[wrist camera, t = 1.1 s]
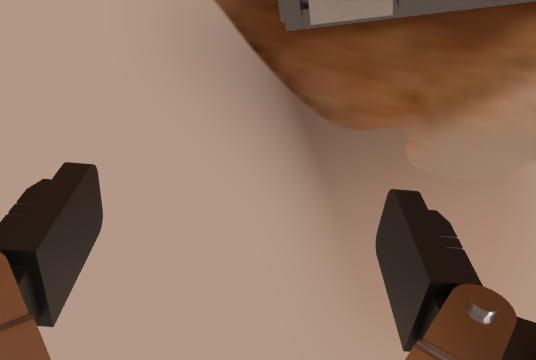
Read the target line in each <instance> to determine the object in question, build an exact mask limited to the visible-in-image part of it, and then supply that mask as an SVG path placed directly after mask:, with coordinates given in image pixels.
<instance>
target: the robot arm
mask: <svg viewBox="0 0 536 360" xmlns="http://www.w3.org/2000/svg"><path fill="white" fill-rule="evenodd" d="M102 219H103V211H102V202H101V195H100V187H99V178H98V172H97V168H96V166H95V165H93V164H82V163H81V164H80V163H69V162H66V163H64V164H63V165H62V166H61V168H60V169H59V170H58V172H57V173H56V174H55V176H54V177H53V179H52V180H50V179H42V180H41V181H39V182H37V183H36V184H34V185H33V186H31V187H29V188H28V189H26V191H25V192H24V193H23V194H22V196H21V197H20V198H19V199H18V201H17V204H15V205H14V206H13V207H12V208H11V209H10V211H9V214H8V215H6V216H5V217H4V218H3V220H2V221H1V222H0V360H51V359H50V357H49V354H48V352H47V349H46V347H45V344H44V342H43V339H42V337H41V334H40V332H39V329H38V327H37V326H47V327H54V325H55V323H56V321H57V318H58V317H59V314H60V313H61V310H62V308H63V306H64V304H65V302H66V300H67V298H68V296H69V294H70V292H71V290H72V288H73V286H74V284H75V282H76V280H77V278H78V276H79V273H80V272H81V270H82V268H83V266H84V264H85V262H86V260H87V258H88V255H89V253H90V251H91V249H92V247H93V245H94V243H95V241H96V239H97V237H98V235H99V233H100V230H101V226H102ZM376 254H377V258H378V261H379V265H380V269H381V272H382V276H383V279H384V283H385V287H386V290H387V294H388V298H389V301H390V305H391V308H392V312H393V316H394V319H395V322H396V326H397V330H398V333H399V337H400V341H401V344H402V348H403V351H410V353H409V354H408V356H407V358H406V359H405V360H536V323H534V322H531V321H528V320H525V319H522V318H519V317H517V316H516V313H515V311H514V309H513V307H512V306H511V305H510V303H509V302H508V301H507V300H506V299H505V298H503V297H502V296H501V295H499V294H498V293H496V292H495V291H493V290H491V289H488V288H486V287H483V285H482V283H481V282H480V280H479V278H478V276H477V274H476V272H475V270H474V268H473V266H472V264H471V262H470V260H469V258H468V256H467V255H466V253H465V251H464V250H462V245H461V243H460V241H459V239H457V235H456V233H455V232H454V230H453V228H452V226H451V224H450V222H448V221H447V220H446V219H445V218H444V217H443V216H442V215H441V214H440V213H439V212H437V211H436V210H428V208H427V207H426V204H425V202H424V200H423V198H422V196H421V194H420V192H418V191H409V190H396V189H391V190H390V191H389V192H388V195H387V199H386V202H385V205H384V209H383V213H382V216H381V220H380V224H379V227H378V231H377V236H376Z"/></svg>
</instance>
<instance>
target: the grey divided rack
mask: <svg viewBox="0 0 536 360" xmlns="http://www.w3.org/2000/svg"><path fill="white" fill-rule="evenodd" d="M535 1H536V0H278V5H279V13H280V20H281V23H285V26H286V31H293V30H301V29H310V28H318V27H326V26H335V25H343V24H351V23H360V22H368V21H376V20H385V19H393V18H401V17H410V16H418V15H426V14H435V13H443V12H451V11H460V10H468V9H476V8H485V7H493V6H501V5H510V4H518V3H526V2H535Z"/></svg>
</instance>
